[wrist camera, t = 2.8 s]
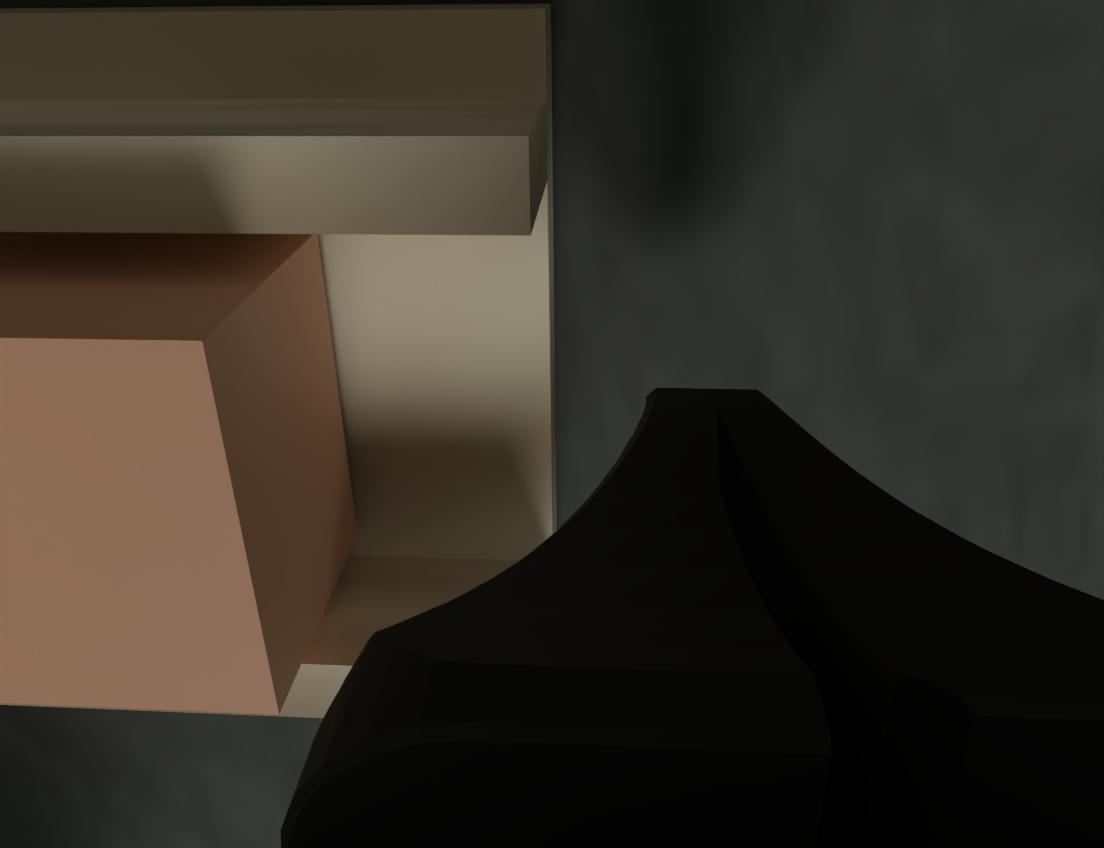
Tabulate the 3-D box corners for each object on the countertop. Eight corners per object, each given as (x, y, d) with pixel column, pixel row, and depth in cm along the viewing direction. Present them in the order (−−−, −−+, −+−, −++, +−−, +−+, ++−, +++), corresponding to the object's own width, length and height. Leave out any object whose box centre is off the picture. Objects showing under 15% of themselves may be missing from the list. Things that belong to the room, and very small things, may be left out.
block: (357, 535, 14) (279, 714, 11) (-14, 525, 14) (-199, 695, 11) (317, 230, 12) (202, 341, 9) (-122, 227, 12) (-391, 332, 9)
